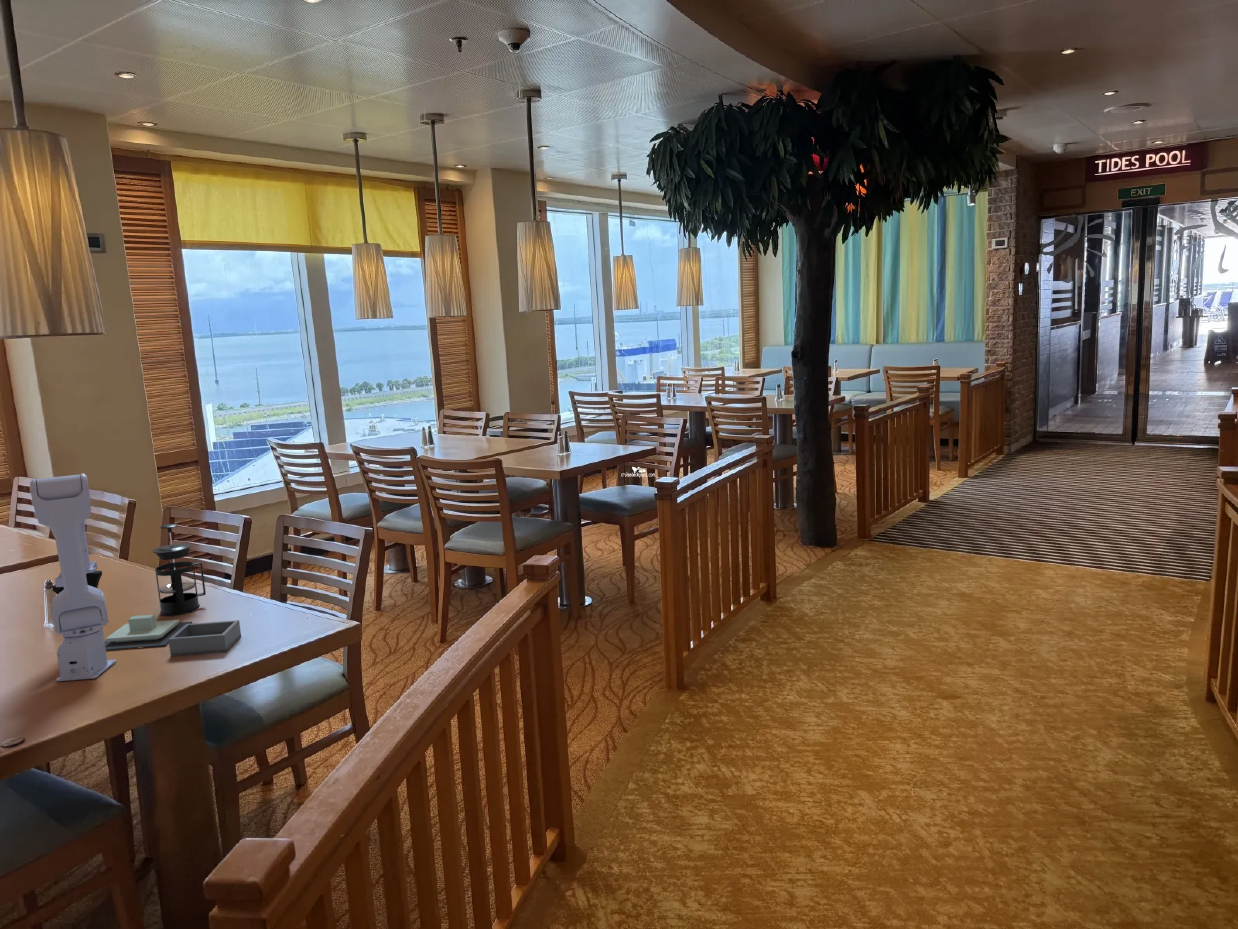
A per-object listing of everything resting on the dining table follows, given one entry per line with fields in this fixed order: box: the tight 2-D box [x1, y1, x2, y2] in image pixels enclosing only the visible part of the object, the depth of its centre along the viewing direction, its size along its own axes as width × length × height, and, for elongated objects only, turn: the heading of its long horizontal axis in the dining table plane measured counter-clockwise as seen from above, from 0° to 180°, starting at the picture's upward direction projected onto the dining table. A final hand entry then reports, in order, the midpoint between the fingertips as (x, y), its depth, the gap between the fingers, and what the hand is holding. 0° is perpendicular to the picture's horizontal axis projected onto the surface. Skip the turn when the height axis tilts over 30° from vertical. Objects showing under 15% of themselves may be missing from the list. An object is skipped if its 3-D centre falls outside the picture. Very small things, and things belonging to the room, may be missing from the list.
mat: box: [104, 621, 193, 651], centre depth 205 cm, size 16×16×1 cm
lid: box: [104, 614, 180, 642], centre depth 204 cm, size 10×12×5 cm
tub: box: [168, 619, 242, 657], centre depth 196 cm, size 10×12×4 cm
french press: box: [152, 523, 207, 617], centre depth 223 cm, size 12×9×23 cm
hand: (82, 608), depth 198 cm, fingers open, 7 cm apart
